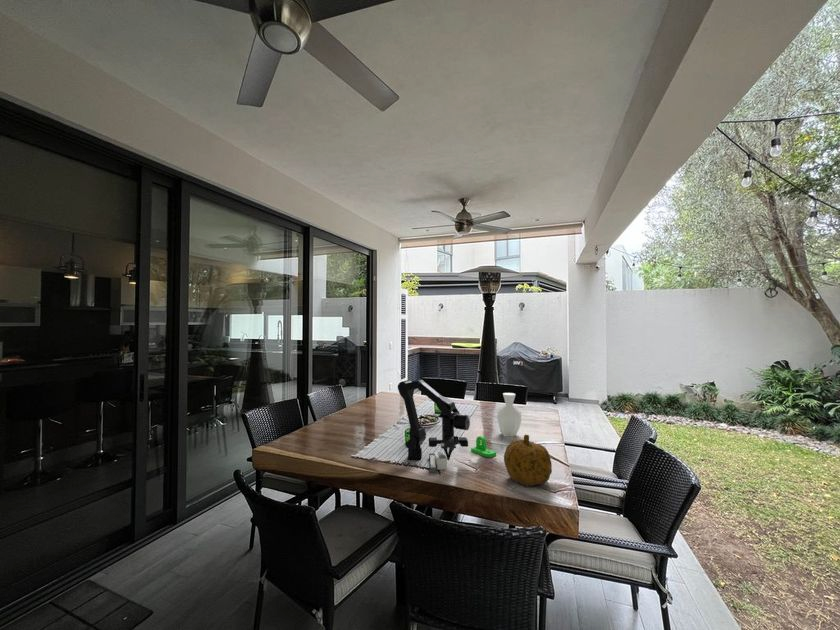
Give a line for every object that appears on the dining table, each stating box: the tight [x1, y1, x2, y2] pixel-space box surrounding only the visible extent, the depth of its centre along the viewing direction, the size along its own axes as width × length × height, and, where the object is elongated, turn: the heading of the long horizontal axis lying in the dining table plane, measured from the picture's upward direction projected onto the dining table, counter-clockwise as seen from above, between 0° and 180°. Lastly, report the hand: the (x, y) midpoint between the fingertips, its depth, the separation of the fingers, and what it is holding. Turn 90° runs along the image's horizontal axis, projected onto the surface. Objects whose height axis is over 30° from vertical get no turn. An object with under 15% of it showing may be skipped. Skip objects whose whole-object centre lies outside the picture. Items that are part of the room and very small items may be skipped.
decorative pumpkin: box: [503, 434, 553, 487], centre depth 154 cm, size 20×21×20 cm
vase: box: [496, 392, 522, 437], centre depth 218 cm, size 14×14×25 cm
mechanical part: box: [470, 435, 497, 458], centre depth 186 cm, size 12×6×8 cm, turn 39°
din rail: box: [428, 452, 438, 475], centre depth 169 cm, size 3×18×3 cm, turn 0°
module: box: [434, 452, 448, 470], centre depth 169 cm, size 5×8×5 cm, turn 7°
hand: (448, 459), depth 170 cm, fingers closed
